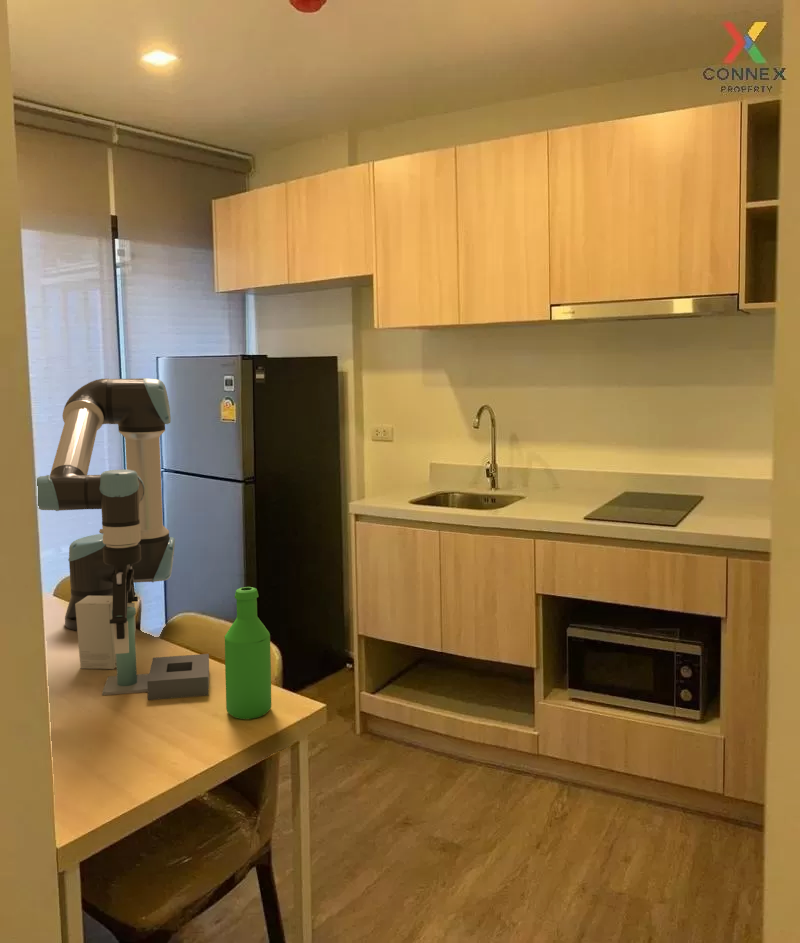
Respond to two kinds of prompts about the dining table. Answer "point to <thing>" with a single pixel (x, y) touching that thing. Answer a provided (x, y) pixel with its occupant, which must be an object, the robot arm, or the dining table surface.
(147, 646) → the dining table surface
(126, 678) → the plug
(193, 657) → the socket block
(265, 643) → the bottle
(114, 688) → the coaster
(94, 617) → the skincare box
